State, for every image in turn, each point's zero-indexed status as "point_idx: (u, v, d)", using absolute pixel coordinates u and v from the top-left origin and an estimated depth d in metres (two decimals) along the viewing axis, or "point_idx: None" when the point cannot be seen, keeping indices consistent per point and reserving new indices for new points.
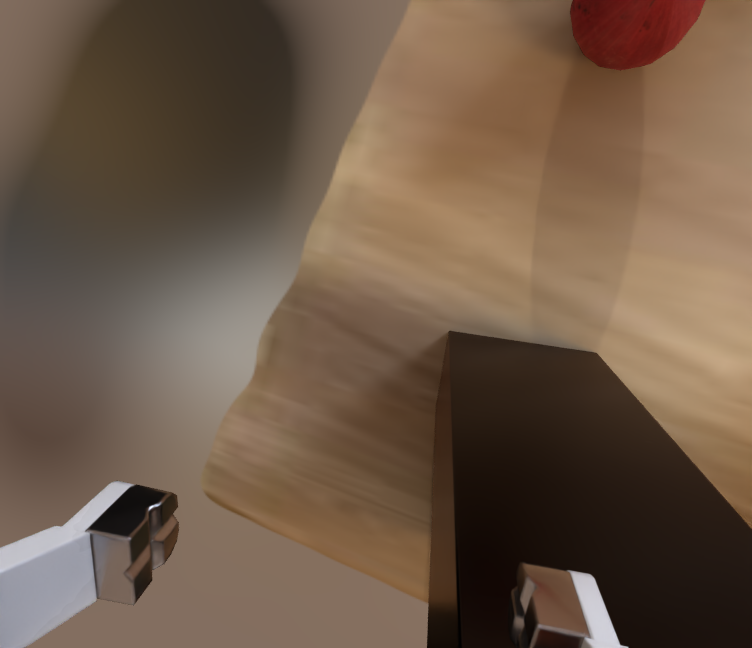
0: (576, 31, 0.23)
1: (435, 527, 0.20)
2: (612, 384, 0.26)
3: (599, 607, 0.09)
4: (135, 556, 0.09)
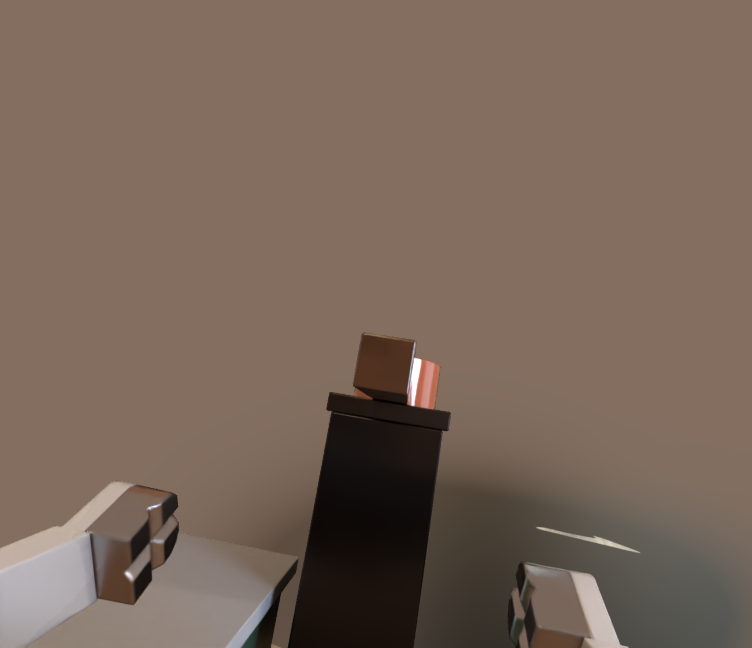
0: None
1: None
2: None
3: (599, 607, 0.09)
4: (135, 556, 0.09)
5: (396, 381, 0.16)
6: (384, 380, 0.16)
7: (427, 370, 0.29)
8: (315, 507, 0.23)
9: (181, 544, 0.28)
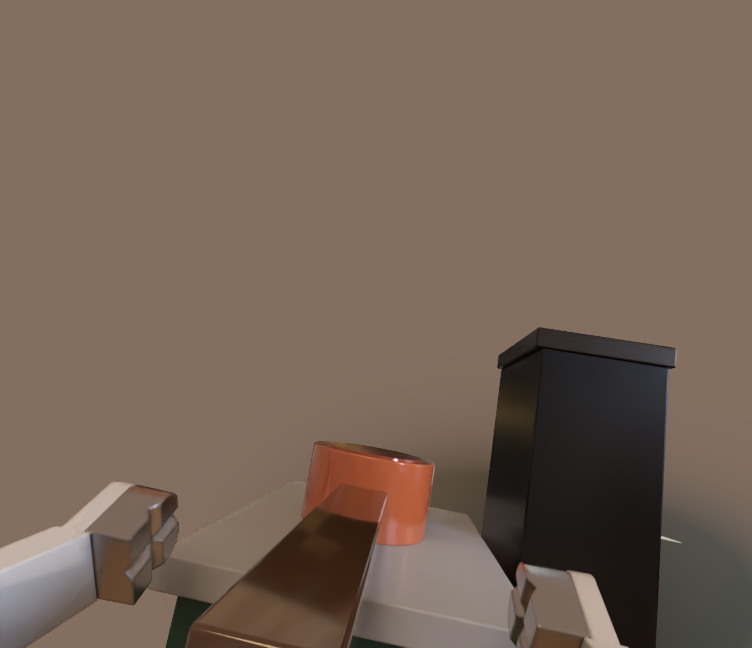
0: None
1: None
2: None
3: (599, 607, 0.09)
4: (135, 556, 0.09)
5: None
6: None
7: (413, 480, 0.19)
8: (533, 449, 0.21)
9: None
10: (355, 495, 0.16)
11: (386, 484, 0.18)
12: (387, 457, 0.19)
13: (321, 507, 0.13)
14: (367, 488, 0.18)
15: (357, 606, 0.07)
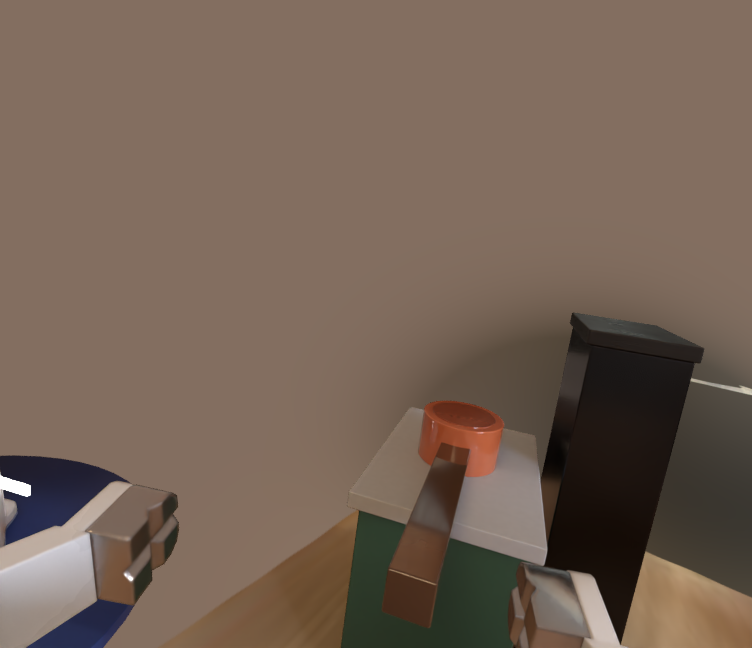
0: None
1: None
2: None
3: (599, 607, 0.09)
4: (135, 556, 0.09)
5: (419, 616, 0.18)
6: (408, 613, 0.18)
7: (487, 441, 0.30)
8: (577, 415, 0.31)
9: None
10: (449, 458, 0.28)
11: (469, 444, 0.29)
12: (470, 426, 0.30)
13: (429, 477, 0.25)
14: (457, 446, 0.29)
15: (443, 557, 0.19)
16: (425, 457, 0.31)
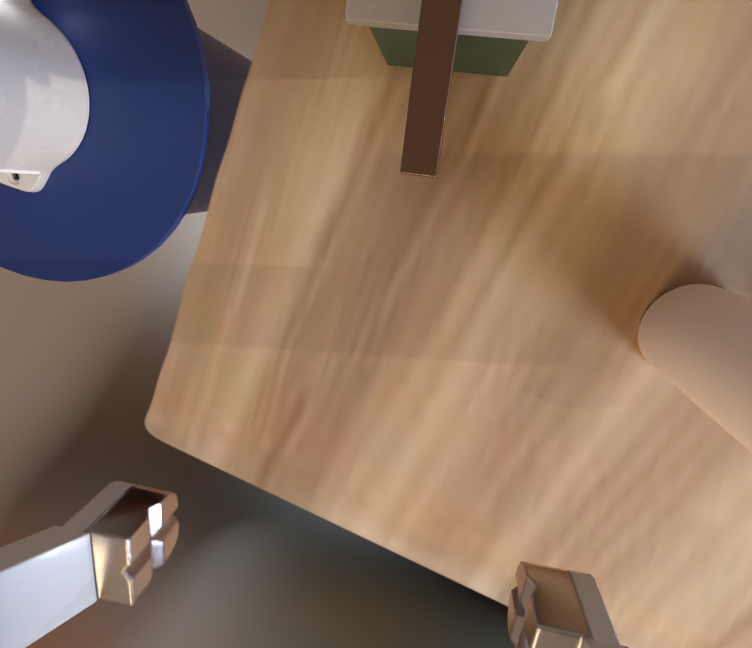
0: None
1: None
2: None
3: (599, 607, 0.09)
4: (135, 556, 0.09)
5: None
6: None
7: None
8: None
9: None
10: None
11: None
12: None
13: (424, 4, 0.22)
14: None
15: (440, 144, 0.24)
16: None
